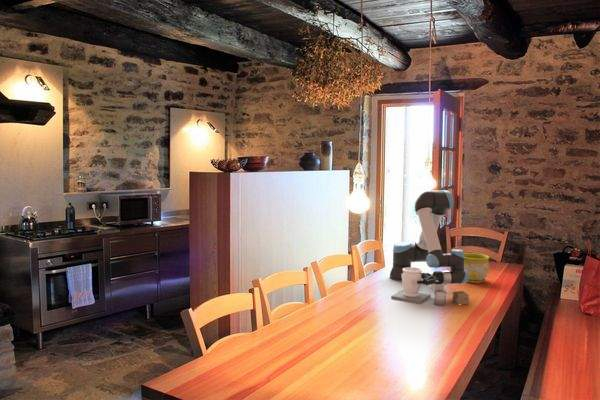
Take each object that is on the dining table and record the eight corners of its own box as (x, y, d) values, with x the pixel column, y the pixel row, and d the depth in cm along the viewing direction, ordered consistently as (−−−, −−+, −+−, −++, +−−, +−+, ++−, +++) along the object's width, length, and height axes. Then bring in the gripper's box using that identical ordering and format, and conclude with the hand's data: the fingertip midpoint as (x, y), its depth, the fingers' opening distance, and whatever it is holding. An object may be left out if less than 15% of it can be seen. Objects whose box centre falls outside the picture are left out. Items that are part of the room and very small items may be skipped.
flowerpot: (492, 284, 316) (493, 259, 314) (463, 284, 316) (464, 258, 314) (482, 277, 333) (483, 253, 332) (455, 277, 334) (456, 252, 332)
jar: (419, 293, 290) (420, 267, 288) (422, 298, 280) (422, 271, 278) (400, 292, 291) (401, 266, 289) (402, 297, 281) (403, 271, 279)
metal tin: (436, 302, 278) (436, 289, 277) (447, 304, 275) (447, 291, 274) (432, 304, 273) (432, 292, 272) (443, 306, 270) (443, 294, 269)
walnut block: (452, 302, 278) (452, 291, 278) (462, 301, 279) (462, 291, 279) (457, 305, 272) (458, 294, 272) (468, 304, 274) (468, 294, 273)
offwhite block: (430, 288, 306) (430, 278, 305) (439, 288, 307) (439, 278, 306) (434, 291, 300) (435, 281, 299) (444, 290, 301) (444, 280, 300)
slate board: (402, 292, 297) (402, 289, 297) (430, 297, 287) (430, 294, 287) (391, 298, 284) (391, 295, 284) (420, 303, 274) (420, 301, 274)
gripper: (451, 289, 276) (415, 291, 272) (431, 278, 300) (397, 279, 296) (452, 276, 275) (415, 277, 271) (432, 266, 300) (398, 267, 296)
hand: (406, 278), depth 284 cm, fingers open, 13 cm apart
